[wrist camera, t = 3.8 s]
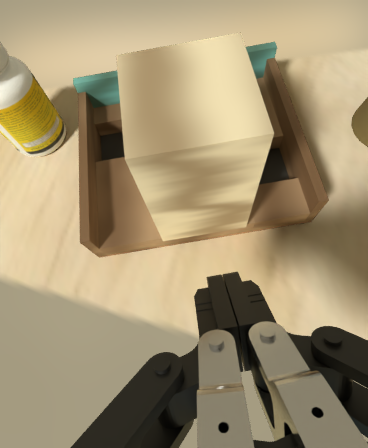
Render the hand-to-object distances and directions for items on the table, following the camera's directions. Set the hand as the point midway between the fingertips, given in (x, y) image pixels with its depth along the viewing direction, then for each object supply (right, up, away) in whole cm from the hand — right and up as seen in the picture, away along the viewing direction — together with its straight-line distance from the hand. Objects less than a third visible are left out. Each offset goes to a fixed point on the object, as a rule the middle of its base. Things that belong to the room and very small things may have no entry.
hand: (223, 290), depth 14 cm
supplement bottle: (-16, +12, +17) cm, 26 cm away
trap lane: (-1, +9, +14) cm, 16 cm away
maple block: (-1, +5, +10) cm, 11 cm away
